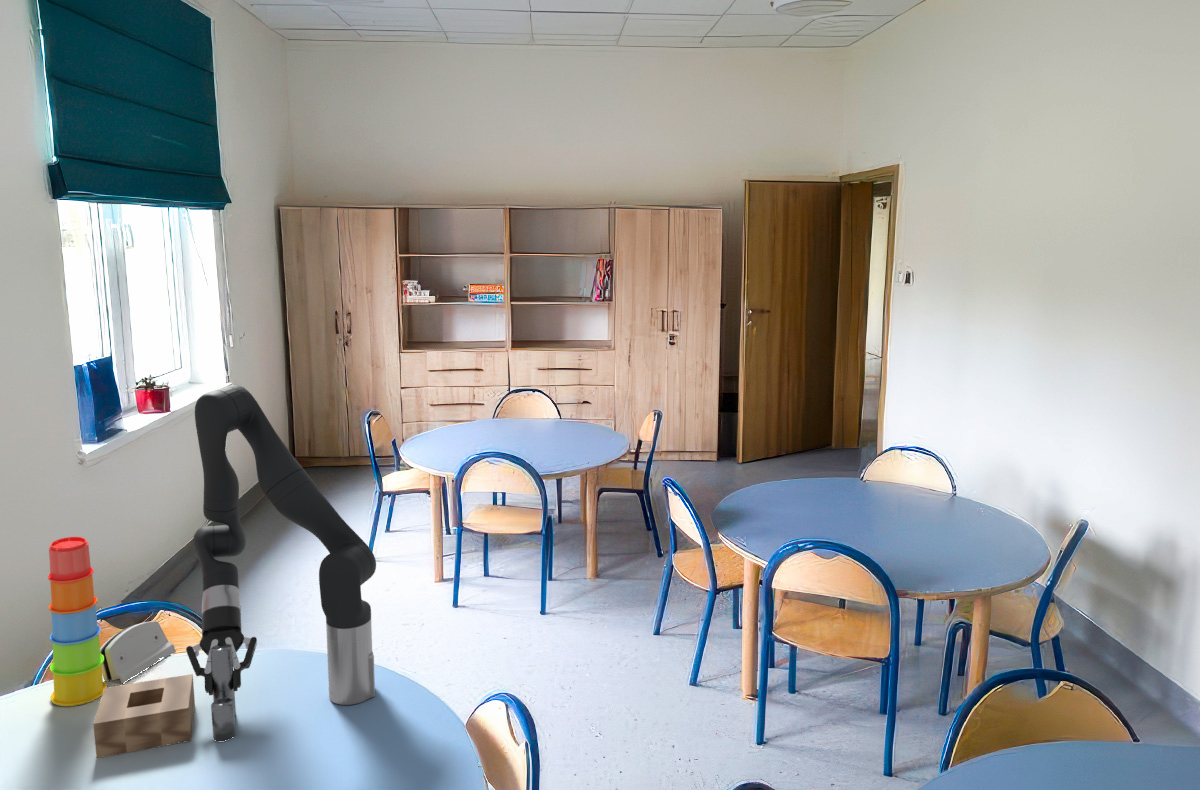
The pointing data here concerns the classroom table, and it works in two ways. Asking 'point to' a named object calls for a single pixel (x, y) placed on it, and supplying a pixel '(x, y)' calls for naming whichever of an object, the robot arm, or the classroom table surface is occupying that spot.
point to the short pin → (223, 719)
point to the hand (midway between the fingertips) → (223, 691)
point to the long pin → (222, 672)
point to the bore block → (144, 715)
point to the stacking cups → (74, 625)
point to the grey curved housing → (134, 651)
